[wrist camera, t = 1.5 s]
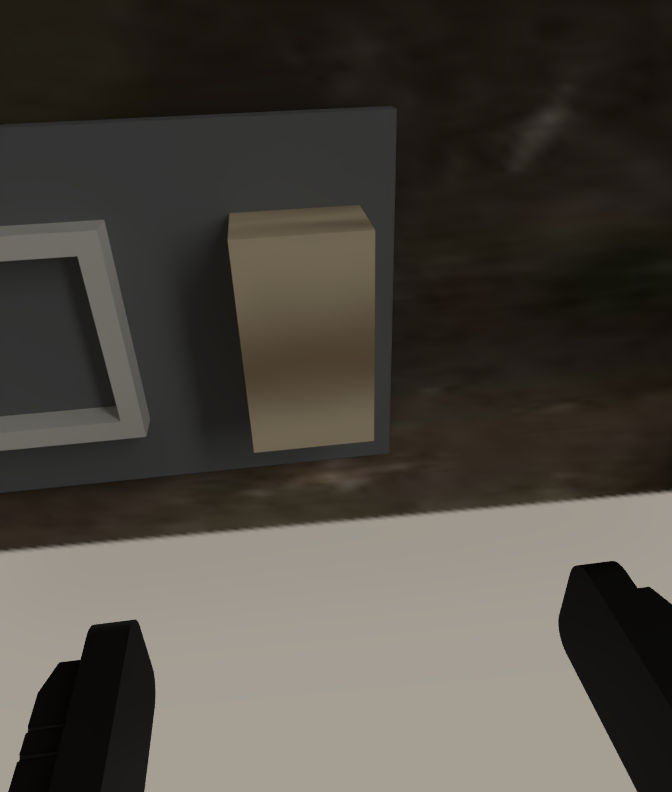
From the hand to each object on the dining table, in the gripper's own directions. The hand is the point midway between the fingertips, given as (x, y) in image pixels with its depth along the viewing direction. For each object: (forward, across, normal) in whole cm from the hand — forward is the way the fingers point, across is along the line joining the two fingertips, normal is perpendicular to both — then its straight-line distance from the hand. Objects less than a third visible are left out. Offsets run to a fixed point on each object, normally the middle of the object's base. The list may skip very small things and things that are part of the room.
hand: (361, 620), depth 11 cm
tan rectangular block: (+14, 0, 0) cm, 14 cm away
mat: (+15, +7, 0) cm, 17 cm away
